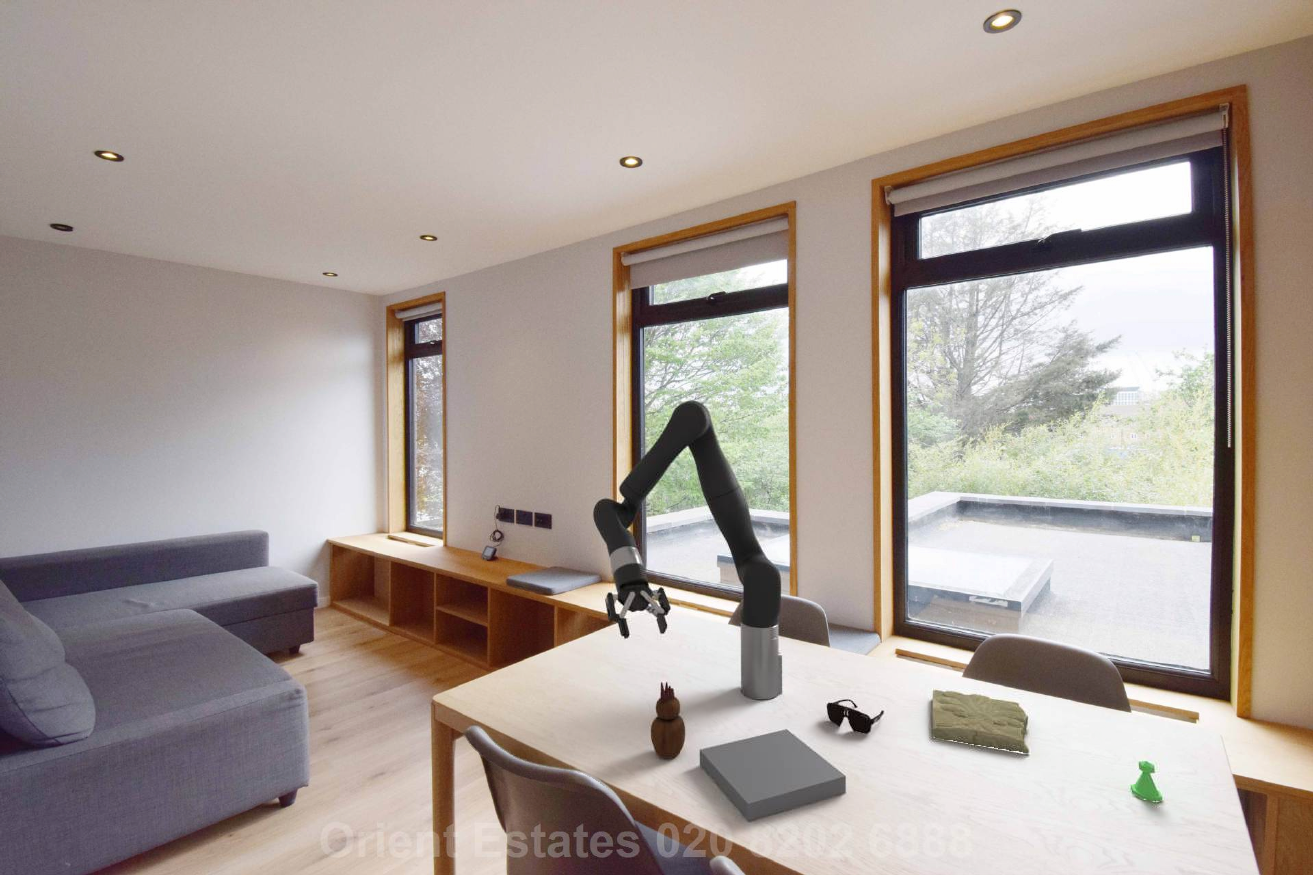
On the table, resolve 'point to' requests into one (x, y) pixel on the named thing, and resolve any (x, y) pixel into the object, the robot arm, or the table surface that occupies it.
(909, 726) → the table surface
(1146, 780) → the game piece
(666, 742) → the wooden figurine
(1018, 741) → the decorative tile
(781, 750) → the block
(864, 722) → the sunglasses
